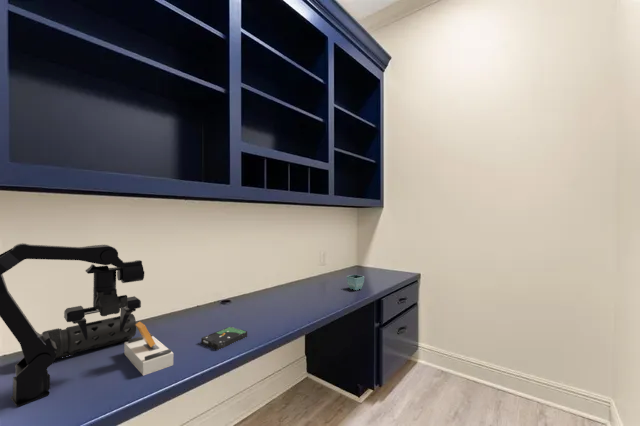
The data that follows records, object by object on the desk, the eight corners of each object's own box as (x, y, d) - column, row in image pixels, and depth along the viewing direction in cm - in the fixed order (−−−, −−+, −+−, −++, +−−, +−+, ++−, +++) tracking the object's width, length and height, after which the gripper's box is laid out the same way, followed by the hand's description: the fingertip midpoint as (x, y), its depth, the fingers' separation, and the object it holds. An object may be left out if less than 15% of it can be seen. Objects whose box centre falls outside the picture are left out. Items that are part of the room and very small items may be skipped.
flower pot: (355, 292, 194) (356, 278, 194) (346, 289, 201) (346, 275, 201) (364, 289, 200) (364, 276, 200) (354, 287, 207) (355, 274, 207)
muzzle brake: (136, 342, 115) (136, 315, 115) (37, 370, 94) (37, 337, 94) (128, 335, 122) (128, 310, 122) (33, 360, 101) (34, 329, 101)
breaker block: (143, 375, 92) (143, 359, 92) (124, 354, 106) (124, 339, 106) (173, 365, 99) (173, 349, 99) (152, 345, 112) (152, 332, 112)
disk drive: (218, 352, 110) (247, 337, 122) (218, 344, 110) (248, 330, 122) (200, 345, 115) (230, 331, 128) (200, 337, 115) (230, 325, 128)
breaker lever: (152, 350, 101) (140, 328, 98) (146, 344, 105) (134, 324, 102) (157, 346, 102) (145, 325, 99) (151, 341, 106) (139, 320, 103)
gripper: (70, 297, 80) (70, 354, 80) (146, 285, 94) (146, 334, 94) (64, 289, 88) (63, 341, 88) (135, 279, 102) (135, 324, 102)
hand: (104, 335), depth 93 cm, fingers open, 9 cm apart
